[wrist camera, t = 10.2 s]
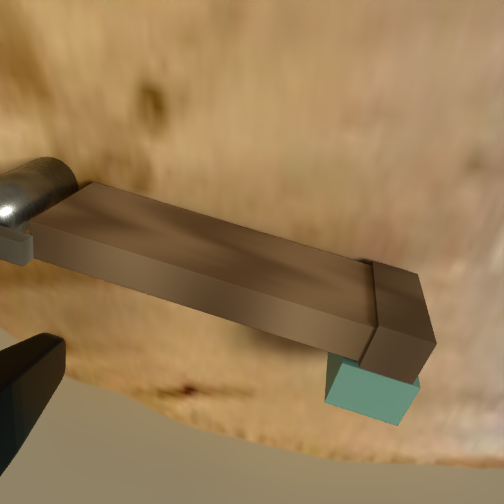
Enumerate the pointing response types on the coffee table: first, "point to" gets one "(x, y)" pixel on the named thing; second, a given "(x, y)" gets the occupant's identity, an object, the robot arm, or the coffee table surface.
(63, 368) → the robot arm
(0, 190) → the hinge post
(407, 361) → the gate
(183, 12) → the coffee table surface
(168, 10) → the coffee table surface
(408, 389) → the block
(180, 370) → the coffee table surface
